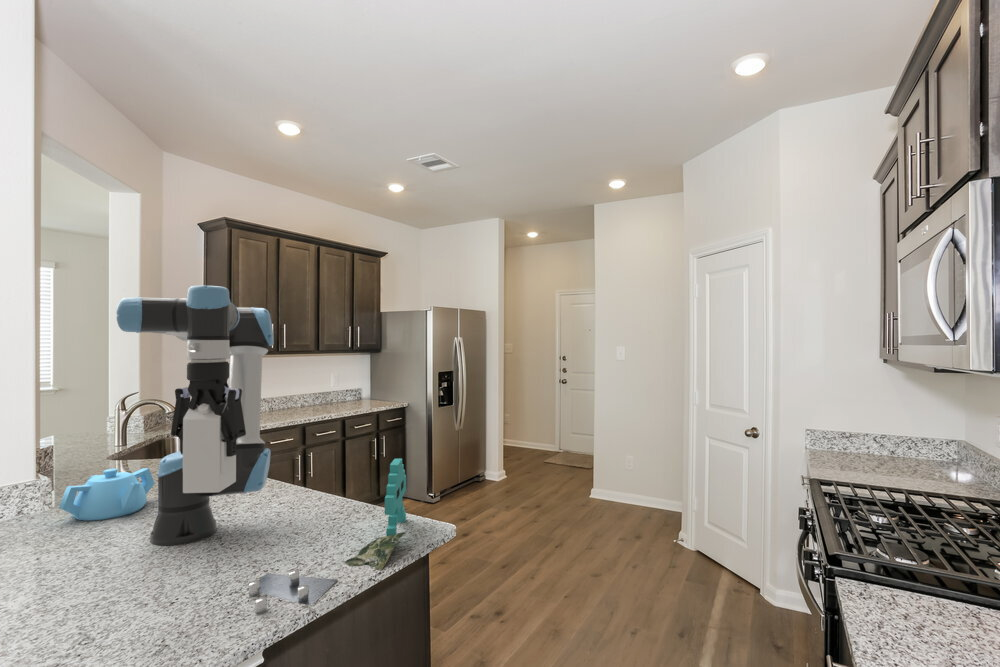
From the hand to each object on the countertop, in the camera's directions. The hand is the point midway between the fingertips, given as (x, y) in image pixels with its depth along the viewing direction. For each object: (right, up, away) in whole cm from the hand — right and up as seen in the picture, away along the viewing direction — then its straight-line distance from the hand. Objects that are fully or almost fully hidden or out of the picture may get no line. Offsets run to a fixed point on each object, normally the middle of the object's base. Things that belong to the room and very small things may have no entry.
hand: (208, 470), depth 99 cm
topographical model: (+27, -28, +19) cm, 44 cm away
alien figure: (+31, -28, +35) cm, 54 cm away
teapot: (-60, -28, +49) cm, 82 cm away
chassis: (+15, -27, 0) cm, 31 cm away
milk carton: (0, -4, +1) cm, 4 cm away
